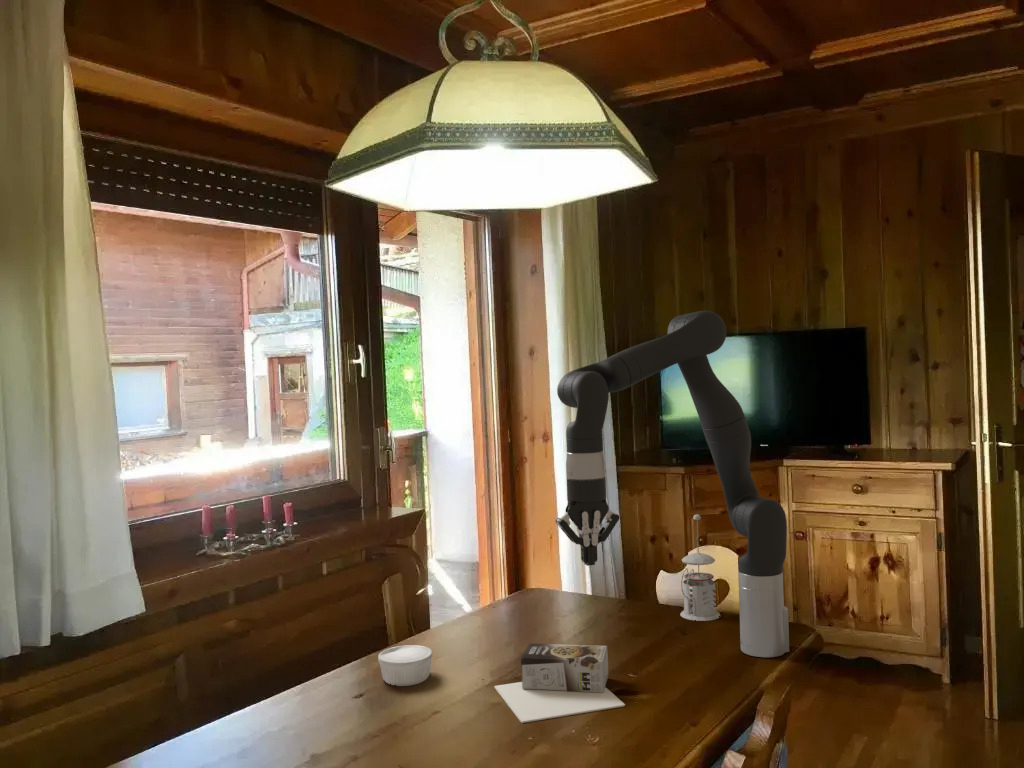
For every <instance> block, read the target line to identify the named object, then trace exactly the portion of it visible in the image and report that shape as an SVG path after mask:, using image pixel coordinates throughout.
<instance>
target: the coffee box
mask: <svg viewBox="0 0 1024 768" xmlns="http://www.w3.org/2000/svg"><path fill="white" fill-rule="evenodd" d="M608 654H609V653H608V645H598V644H597V645H595V644H594V645H593V644H592V645H591V644H565V643H563V644H562V643H560V644H559V643H558V644H557V643H555V644H554V643H533V642H532V643H531V642H529V643H528V645H527V647H526V648H525V650H524V652H523V654H522V656H521V657H520V675H521V682H522V689H539V690H558V691H579V692H598V693H603V692H604V689H605V687H606V685H607V682H608V677H609V657H608Z"/></svg>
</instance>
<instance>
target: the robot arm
mask: <svg viewBox="0 0 1024 768" xmlns="http://www.w3.org/2000/svg"><path fill="white" fill-rule="evenodd" d="M726 338H727V327H726V323H725V322H724V319H723V318H722V317H721V316H720V315H718V314H717V313H716V312H714V311H710V310H698V311H694V312H689V313H684V314H680V315H677V316H675V317H673V318H672V319H671V320H670V322H669V324H668V327H667V334H665V335H663V336H660V337H657V338H655V339H652V340H648V341H646V342H645V341H644V342H642V343H639V344H636V345H634V346H631V347H629V348H625V349H623V350H622V351H619V352H617V353H615V354H613V355H610V356H608V357H607V358H605V359H603V360H600V361H597V362H595V363H591V364H588V365H585V366H582V367H579V368H576V369H574V370H571V371H569V372H567V373H565V375H563V377H562V378H561V379H560V380H559V382H558V384H557V388H556V389H557V390H556V392H557V396H558V399H559V400H560V402H561V403H562V404H564V405H565V406H567V407H569V408H573V409H574V408H575V409H576V415H575V419H574V421H571V422H569V423H568V424H567V426H566V432H565V438H566V460H565V469H566V470H565V471H566V472H565V475H566V498H567V499H566V500H567V503H566V505H567V506H566V507H565V513H564V514H563V515H562V516H561V517H557V518H555V524H556V525H557V527H559V529H561V531H562V532H563V533H564V534H565V535H566V537H567V538H568V539H569V540H570V542H571V543H574V544H575V545H579V546H580V560H581V562H582V563H583V564H584V565H585V566H595V565H596V562H598V545H599V544H600V543H602V542H604V543H605V542H606V540H607V539H608V538H609V536H610V535H611V533H612V531H613V530H614V528H615V526H616V525H617V523H618V522H619V520H620V515H619V514H617V513H616V512H615V513H614V512H612V511H611V510H610V508H609V504H608V503H607V481H606V477H607V476H606V474H607V469H606V461H605V455H604V438H603V437H604V436H603V434H604V433H603V428H604V424H605V421H606V415H607V410H608V404H609V396H610V395H609V394H610V393H617V392H620V391H621V392H622V391H624V390H626V389H627V388H630V387H633V386H634V385H635V384H638V383H640V382H641V381H643V380H646V379H649V377H652V376H653V375H655V374H657V373H660V372H661V371H663V370H666V369H668V368H669V367H672V366H674V365H678V368H679V370H680V371H681V374H682V376H683V379H684V382H685V383H686V385H687V388H688V391H689V393H690V397H691V399H692V402H693V404H694V408H695V410H696V413H697V416H698V419H699V422H700V426H701V429H702V432H703V434H704V438H705V441H706V443H707V446H708V448H709V451H710V453H711V457H712V460H713V463H714V466H715V469H716V472H717V474H718V478H719V479H720V483H721V486H722V491H723V495H724V500H725V504H726V508H727V514H728V517H729V520H730V523H731V525H732V528H733V529H734V530H735V531H736V532H737V534H739V535H741V536H743V537H746V538H747V549H746V550H747V552H746V553H745V554H743V555H741V556H740V557H739V558H738V560H737V570H738V571H737V573H738V575H737V576H738V578H737V579H738V580H737V581H738V604H739V606H738V607H739V634H740V635H739V636H740V637H739V639H740V640H739V642H740V651H741V652H742V653H744V654H746V655H748V656H752V657H758V658H775V657H776V658H777V657H780V656H783V655H784V654H785V653H788V652H790V638H789V637H790V635H789V634H790V633H789V631H790V630H789V609H788V607H787V606H785V604H784V603H785V602H784V600H785V599H784V598H785V597H784V573H783V572H784V571H783V570H784V569H783V568H784V563H785V560H786V557H787V538H788V537H787V533H788V525H787V517H786V513H785V510H784V508H783V506H782V505H781V504H780V502H778V501H776V500H774V499H770V498H767V497H762V496H761V495H760V494H759V492H758V489H757V487H756V485H755V482H754V479H753V476H752V472H751V467H750V466H751V463H750V462H751V451H752V436H751V435H752V434H751V431H750V428H749V425H748V424H749V423H748V421H747V418H746V416H745V413H744V411H743V408H742V406H741V405H740V403H739V401H738V400H737V399H736V397H735V396H734V394H733V393H732V392H730V391H729V389H728V388H727V387H726V386H725V385H724V384H723V383H722V381H721V380H720V379H719V378H718V377H717V375H716V374H715V372H714V370H713V368H712V366H711V364H710V360H709V358H708V356H707V355H711V354H714V353H715V352H717V351H718V350H720V349H721V348H722V346H723V345H724V343H725V341H726ZM570 520H571V521H570ZM603 521H604V522H603ZM571 522H572V523H573V524H574V526H576V531H577V534H576V532H575V531H574V530H573V529H572V527H571V526H570V525H571ZM602 522H603V523H602ZM601 524H602V525H601Z"/></svg>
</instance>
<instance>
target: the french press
mask: <svg viewBox="0 0 1024 768" xmlns="http://www.w3.org/2000/svg"><path fill="white" fill-rule="evenodd" d="M693 520H696V538H697V541H696V543H697V545H699V520H702V517H701V515H700V514H697V513H696V514H694V515H693ZM699 550H700V549H699V547H697V552H696V553H695V552H694V553H690V554H687V555H685V556H684V557H683V558H681V561H682V563H683V564H685V565H689V566H697V567H698V569H697V570H698V571H697V572H695V570H694V569H693V568H691V570H690V571H689V569H688V568H685V569H684V570H683V572H682V575H681V582H680V585H681V587H680V588H681V592H682V595H683V610H682V611H681V612H680V617H682V618H683V619H686V620H688V621H695V620H696V621H698V622H700V621H701V622H703V621H704V622H706V621H707V622H708V621H715V620H717V619H719V618H720V617H721V614H720V612H719V611H718V610H717V608H716V606H717V603H716V602H717V598H715V597H716V596H717V595H716V594H717V593H715V592H716V582H715V580H713V579H714V575H713V574H712V573H708V572H700V566H704V565H705V566H707V565H712V564H713V563H715V562H716V559H715V558H714V557H713V556H711V555H709V554H706V553H702V552H699ZM685 572H686V574H685ZM683 578H685V579H684V580H683ZM719 616H720V617H719Z"/></svg>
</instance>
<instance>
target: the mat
mask: <svg viewBox="0 0 1024 768" xmlns="http://www.w3.org/2000/svg"><path fill="white" fill-rule="evenodd" d="M493 687H494V689H495V690H496V692H497V693H498V694H499V695H500V696H501V698H502V699H503V701H504V702H505V704H506V705H507V706H508V708H509V709H510V710H511V711H512V712H513V714H514V715H515V716H516V718H517V720H519V722H520V723H521V724H524V723H531V722H537V721H542V720H549V719H555V718H561V717H568V716H573V715H580V714H584V713H585V714H586V713H592V712H598V711H603V710H609V709H616V708H623V707H625V706H626V704H625V703H624V702H623V701H622V700H620V698H618V697H617V696H616V695H615V693H613V692H612V691H611V690H610V689H609V688H607V687H606V686H605V689H604V692H603V693H598V692H579V691H558V690H539V689H522V681H519V682H511V683H506V684H499V685H494V686H493Z"/></svg>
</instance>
